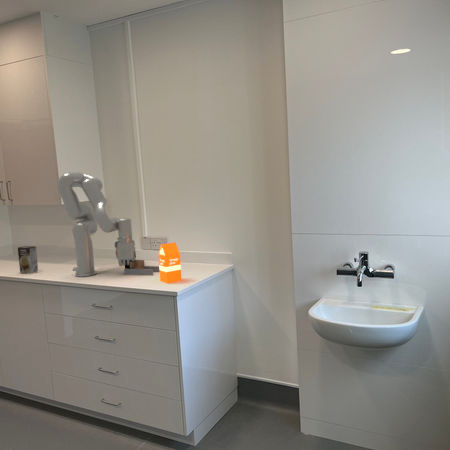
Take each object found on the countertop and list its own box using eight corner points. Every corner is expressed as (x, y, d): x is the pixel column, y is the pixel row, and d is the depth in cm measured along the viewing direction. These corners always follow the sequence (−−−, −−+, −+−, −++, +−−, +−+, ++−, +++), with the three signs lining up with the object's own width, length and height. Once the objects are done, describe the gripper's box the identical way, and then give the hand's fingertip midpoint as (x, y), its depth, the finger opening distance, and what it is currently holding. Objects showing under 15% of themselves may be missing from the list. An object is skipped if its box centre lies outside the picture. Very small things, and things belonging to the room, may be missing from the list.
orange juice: (181, 280, 246) (179, 243, 244) (167, 283, 241) (164, 245, 239) (174, 278, 253) (172, 241, 250) (160, 281, 248) (157, 243, 245)
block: (130, 274, 265) (129, 261, 265) (135, 271, 271) (134, 259, 270) (139, 274, 263) (138, 262, 263) (145, 272, 269) (144, 260, 268)
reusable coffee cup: (139, 262, 303) (137, 239, 302) (131, 266, 291) (130, 242, 290) (120, 263, 306) (119, 240, 304) (112, 267, 293) (111, 243, 292)
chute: (124, 275, 265) (123, 269, 265) (132, 272, 274) (132, 265, 273) (152, 276, 259) (151, 269, 258) (160, 273, 267) (159, 266, 267)
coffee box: (19, 273, 289) (17, 247, 287) (27, 271, 295) (24, 245, 293) (31, 273, 285) (28, 247, 284) (38, 271, 291) (36, 245, 290)
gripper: (110, 240, 266) (113, 272, 268) (133, 240, 261) (136, 273, 263) (118, 238, 273) (120, 269, 275) (140, 238, 268) (142, 270, 270)
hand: (128, 271), depth 269 cm, fingers closed
